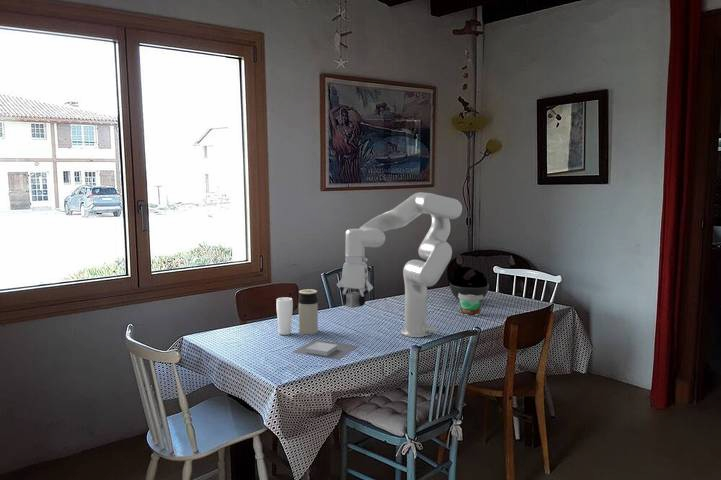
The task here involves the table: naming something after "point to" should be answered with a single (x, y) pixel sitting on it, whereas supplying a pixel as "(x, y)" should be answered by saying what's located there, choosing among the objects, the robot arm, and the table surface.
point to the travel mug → (308, 312)
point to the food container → (470, 303)
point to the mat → (338, 354)
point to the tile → (321, 349)
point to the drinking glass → (284, 315)
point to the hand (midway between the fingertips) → (354, 304)
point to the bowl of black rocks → (468, 283)
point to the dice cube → (352, 299)
